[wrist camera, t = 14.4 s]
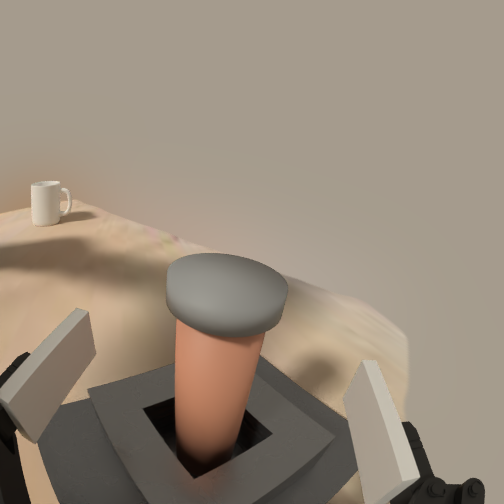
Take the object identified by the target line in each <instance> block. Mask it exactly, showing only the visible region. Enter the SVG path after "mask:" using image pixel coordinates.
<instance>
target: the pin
mask: <svg viewBox="0 0 504 504" xmlns="http://www.w3.org/2000/svg"><path fill="white" fill-rule="evenodd" d="M287 293H288V285H287V282H286V280H285V279H284V278H283V277H282V276H281V275H280V274H279V273H278V272H277V271H275V270H274V269H272V268H270V267H268V266H266V265H264V264H262V263H260V262H257V261H254V260H251V259H248V258H244V257H240V256H235V255H229V254H220V253H201V254H193V255H188V256H185V257H182V258H179V259H177V260H176V261H174V262H173V263H172V264H171V265H170V266H169V268H168V271H167V286H166V303H167V306H168V308H169V310H170V311H171V313H172V314H173V315H174V316H175V317H176V318H177V321H176V347H175V429H176V454H177V459H178V460H179V462H180V463H181V464H182V465H183V467H184V468H185V469H186V470H187V472H189V473H191V474H193V475H196V476H202V475H204V474H206V473H208V472H210V471H212V470H214V469H215V468H217V467H219V466H221V465H223V464H225V463H226V462H228V461H230V460H231V457H232V454H233V450H234V447H235V444H236V440H237V437H238V433H239V430H240V426H241V422H242V419H243V415H244V412H245V408H246V404H247V401H248V397H249V393H250V390H251V386H252V382H253V378H254V375H255V371H256V367H257V363H258V359H259V355H260V351H261V347H262V344H263V340H264V336H265V332H266V331H268V330H270V329H272V328H273V327H275V326H276V325H277V324H278V322H279V321H280V319H281V316H282V312H283V309H284V305H285V301H286V297H287Z"/></svg>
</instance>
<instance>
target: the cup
mask: <svg viewBox="0 0 504 504" xmlns="http://www.w3.org/2000/svg"><path fill="white" fill-rule="evenodd" d="M60 193H66V194H67V197H68V208H67V210H66V211H60ZM31 204H32V222H33V224H34V225H35V226H40V227H44V226H51V225H55V224H57V223H58V222H59V221H60V216H66V215H67V214H69V212H70V211H71V208H72V197H71V193H70V191H69V190H68V189H66V188H60V182H58V181H44V182H37V183H34V184H32V185H31Z"/></svg>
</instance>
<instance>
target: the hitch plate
mask: <svg viewBox="0 0 504 504" xmlns="http://www.w3.org/2000/svg"><path fill="white" fill-rule="evenodd" d="M87 390H88V393H89V396H90V398H88V399H84V400H80V401H76V402H72V403H68V404H64V405H60V406H59V408H58V409H57V411H56V413H55V414H54V416H53V417H52V419H51V420H50V422H49V423H48V425H47V426H46V428H45V430H44V431H43V433H42V434H41V436H40V437H39V439H38V441H37V443H38V447H39V450H40V453H41V457H42V460H43V463H44V466H45V468H46V471H47V474H48V477H49V479H50V482H51V484H52V487H53V489H54V492H55V494H56V496H57V499H58V501H59V503H60V504H326V503H327V502H328V501H329V500H330V499H331V498H332V497H333V496H334V495H335V494H336V493H337V492H338V491H339V490H340V489H341V488H342V487H343V486H344V485H345V484H346V483H347V482H348V480H349V479H350V478H351V477H352V476H353V475H354V474H355V473H356V472H357V471H358V465H357V460H356V456H355V451H354V446H353V441H352V437H351V432H350V428H349V423H348V421H347V420H345V419H344V418H343V417H341V416H340V415H338V414H337V413H335V412H334V411H333V410H331V409H330V408H328V407H327V406H326V405H324V404H323V403H321V402H320V401H319V400H317V399H316V398H315V397H313V396H312V395H310V394H309V393H308V392H306V391H305V390H304V389H302V388H301V387H300V386H298V385H297V384H296V383H294V382H293V381H292V380H291V379H289V378H288V377H287V376H285V375H284V374H283V373H282V372H280V371H279V370H278V369H276V368H275V367H274V366H273V365H271V364H270V363H269V362H268V361H266V360H265V359H264V358H263V357H261V356H260V355H259V359H258V363H257V367H256V371H255V375H254V378H253V382H252V386H251V390H250V393H249V397H248V401H247V404H246V408H245V412H244V415H243V419H242V422H241V426H240V430H239V433H238V437H237V440H236V444H235V447H234V450H233V454H232V457H231V460H230V461H228V462H226V463H225V464H223V465H221V466H219V467H217V468H215V469H214V470H212V471H210V472H208V473H206V474H204V475H202V476H196V475H193V474H191V473H189V472H187V470H186V469H185V468H184V467H183V465H182V464H181V463H180V462H179V460H178V459H177V454H176V429H175V363H173V364H170V365H167V366H164V367H161V368H158V369H155V370H152V371H149V372H146V373H142V374H139V375H136V376H132V377H129V378H126V379H122V380H119V381H115V382H112V383H108V384H104V385H101V386H97V387H93V388H89V389H87Z"/></svg>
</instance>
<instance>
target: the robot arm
mask: <svg viewBox="0 0 504 504" xmlns="http://www.w3.org/2000/svg"><path fill="white" fill-rule="evenodd" d="M95 355H96V350H95V345H94V340H93V335H92V329H91V323H90V317H89V312H88V311H85V310H82V309H79V308H76V309H75V310H74V311H73V312H72V313H71V314H70V315H69V316H68V317H67V318H66V319H65V320H64V321H63V322H62V323H61V324H60V325H59V326H58V327H57V328H56V329H55V330H54V331H53V332H52V333H51V334H50V335H49V336H48V337H47V338H46V339H45V340H44V341H43V342H42V343H41V344H40V345H39V346H38V347H37V348H36V349H35V350H34V351H33V352H32V353H31V354H30V353H28V352H26V353H24V354H22V355H20V356H18V357H17V358H16V359H15V360H14V361H13V362H12V364H11V365H10V366H9V367H8V368H7V369H6V371H4V372H3V373H2V374H1V376H0V504H31V501H30V498H29V494H28V491H27V487H26V483H25V479H24V475H23V471H22V466H21V461H20V456H19V450H18V444H17V437H16V434H15V433H14V432H15V431H16V429H18V431H19V432H20V433H21V435H22V436H23V437H24V438H26V439H28V440H29V441H31V442H32V443H34V444H36V442H37V441H38V439H39V437H40V436H41V434H42V433H43V431H44V430H45V428H46V426H47V425H48V423H49V422H50V420H51V419H52V417H53V416H54V414H55V413H56V411H57V409H58V408H59V406H60V405H61V403H62V402H63V401H64V399H65V398H66V396H67V395H68V393H69V392H70V390H71V389H72V387H73V386H74V385H75V383H76V382H77V380H78V379H79V377H80V376H81V375H82V373H83V372H84V370H85V369H86V368H87V366H88V365H89V363H90V362H91V361H92V359H93V358H94V357H95ZM343 402H344V406H345V410H346V415H347V419H348V423H349V428H350V432H351V437H352V441H353V446H354V451H355V456H356V460H357V465H358V470H359V475H360V481H361V486H362V491H363V497H364V503H365V504H386V503H388V502H389V501H390V504H484V498H485V489H484V485H483V483H482V482H481V481H480V480H479V479H477V478H470V479H468V480H467V481H466V482H464V483H463V484H462V485H461V484H460V485H459V484H446V483H445V482H444V481H443V480H442V479H440V478H437V477H435V476H434V474H433V472H432V469H431V466H430V464H429V461H428V458H427V455H426V453H425V450H424V448H423V445H422V442H421V441H420V437H419V435H418V432H417V430H416V428H415V427H414V426H413V425H412V424H411V423H410V422H409V421H408V422H401V420H400V418H399V415H398V413H397V410H396V407H395V405H394V402H393V400H392V397H391V395H390V392H389V390H388V388H387V385H386V383H385V380H384V378H383V376H382V373H381V371H380V369H379V366H378V364H377V362H376V361H375V360H362V361H361V363H360V365H359V367H358V369H357V371H356V373H355V376H354V377H353V379H352V381H351V383H350V385H349V387H348V389H347V391H346V393H345V395H344V397H343Z"/></svg>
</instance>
